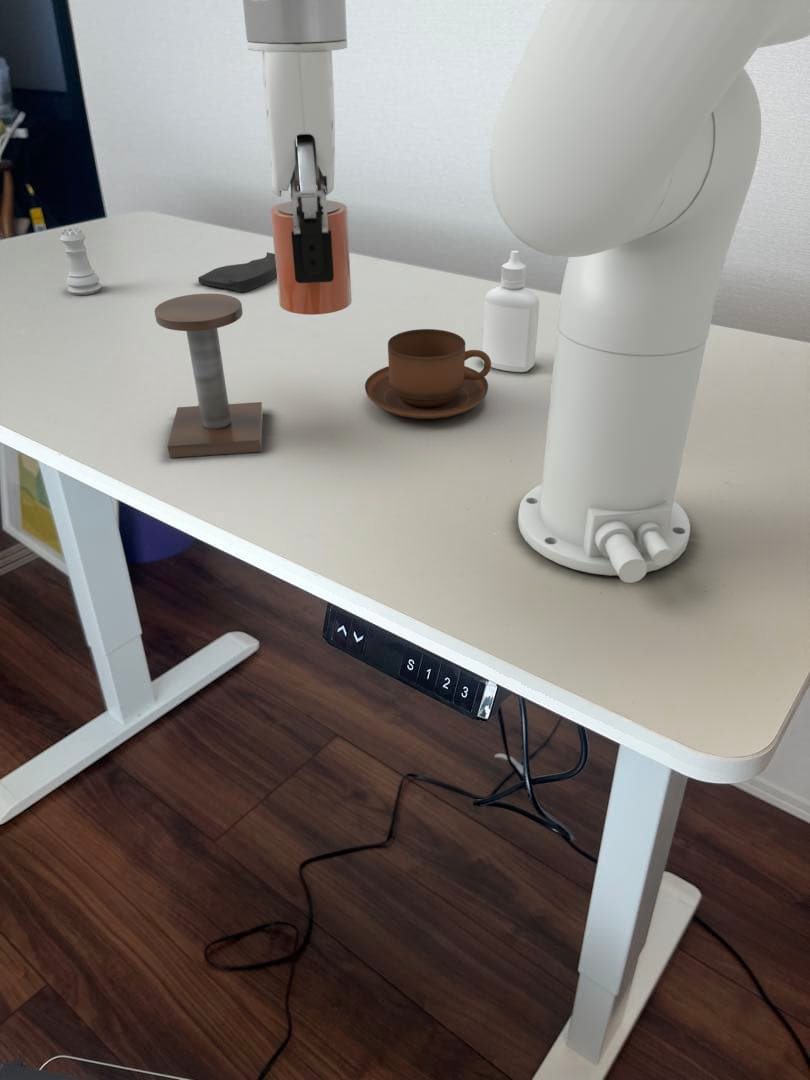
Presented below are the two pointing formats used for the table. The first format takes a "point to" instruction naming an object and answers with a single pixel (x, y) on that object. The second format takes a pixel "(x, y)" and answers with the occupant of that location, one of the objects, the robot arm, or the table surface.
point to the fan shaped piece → (242, 275)
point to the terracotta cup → (315, 294)
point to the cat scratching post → (209, 381)
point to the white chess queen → (79, 264)
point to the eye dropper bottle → (511, 320)
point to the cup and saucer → (428, 376)
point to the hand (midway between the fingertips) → (313, 266)
